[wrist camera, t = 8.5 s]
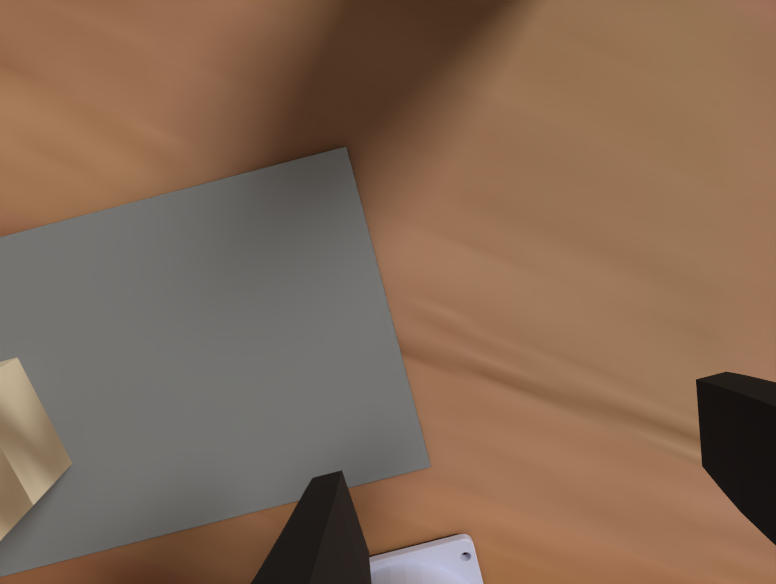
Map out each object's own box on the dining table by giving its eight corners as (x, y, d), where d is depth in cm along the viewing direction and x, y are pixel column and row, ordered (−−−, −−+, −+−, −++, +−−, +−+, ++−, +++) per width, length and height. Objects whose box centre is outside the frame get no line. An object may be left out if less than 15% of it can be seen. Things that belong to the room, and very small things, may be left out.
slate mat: (429, 462, 21) (430, 466, 21) (-62, 588, 22) (-68, 594, 21) (346, 146, 17) (346, 146, 17) (-253, 303, 18) (-263, 306, 17)
